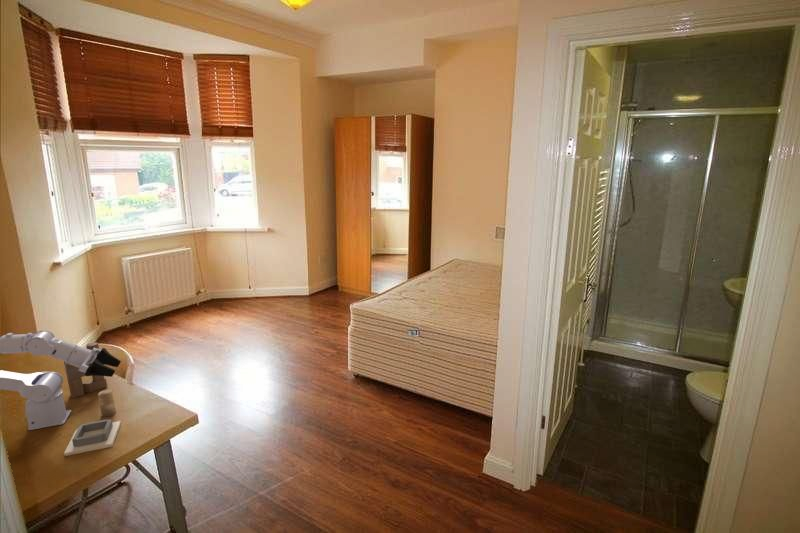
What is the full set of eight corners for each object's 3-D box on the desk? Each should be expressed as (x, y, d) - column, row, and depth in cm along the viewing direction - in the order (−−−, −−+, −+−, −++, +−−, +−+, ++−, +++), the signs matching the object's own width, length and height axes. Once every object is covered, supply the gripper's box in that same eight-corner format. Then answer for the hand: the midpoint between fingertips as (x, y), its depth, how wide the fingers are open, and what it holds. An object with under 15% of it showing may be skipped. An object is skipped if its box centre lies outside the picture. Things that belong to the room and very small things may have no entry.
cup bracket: (64, 456, 123) (62, 445, 122) (77, 431, 134) (75, 422, 133) (112, 446, 127) (110, 436, 127) (121, 423, 138) (119, 414, 137)
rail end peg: (100, 417, 141) (96, 396, 139) (103, 411, 144) (99, 390, 142) (114, 415, 142) (110, 394, 140) (117, 408, 146) (113, 388, 144)
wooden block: (70, 394, 154) (61, 350, 149) (104, 383, 162) (97, 340, 157) (72, 398, 152) (63, 353, 147) (107, 387, 159) (99, 343, 155)
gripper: (70, 351, 130) (117, 367, 135) (85, 335, 143) (127, 350, 148) (59, 371, 130) (106, 386, 135) (75, 353, 143) (117, 367, 148)
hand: (116, 368), depth 142 cm, fingers open, 7 cm apart
